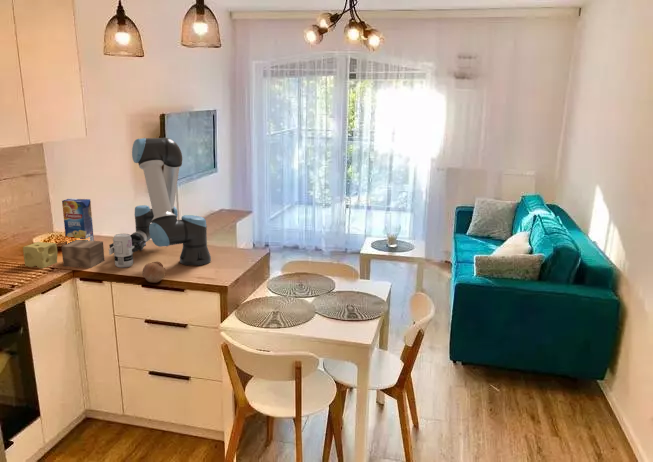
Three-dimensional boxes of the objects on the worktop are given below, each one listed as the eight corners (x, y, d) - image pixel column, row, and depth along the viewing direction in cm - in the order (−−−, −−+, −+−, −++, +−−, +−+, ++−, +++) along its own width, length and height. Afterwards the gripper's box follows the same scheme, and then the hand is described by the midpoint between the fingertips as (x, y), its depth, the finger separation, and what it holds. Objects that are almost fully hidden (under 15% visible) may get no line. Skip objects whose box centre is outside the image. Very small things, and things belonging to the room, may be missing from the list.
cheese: (43, 268, 242) (41, 248, 240) (23, 266, 244) (21, 246, 242) (58, 262, 252) (56, 242, 250) (39, 260, 254) (37, 240, 252)
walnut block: (104, 260, 257) (103, 241, 254) (91, 268, 245) (89, 248, 243) (78, 259, 258) (76, 239, 256) (63, 266, 247) (61, 246, 244)
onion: (162, 285, 233) (170, 265, 234) (156, 287, 224) (166, 265, 224) (142, 277, 233) (151, 257, 233) (136, 279, 223) (145, 257, 224)
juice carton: (94, 241, 289) (90, 199, 283) (86, 245, 282) (82, 201, 276) (74, 240, 291) (70, 198, 285) (66, 243, 284) (61, 200, 278)
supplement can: (114, 263, 252) (112, 233, 249) (132, 262, 255) (130, 232, 252) (115, 268, 245) (113, 238, 241) (133, 267, 248) (131, 236, 244)
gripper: (157, 247, 266) (141, 260, 244) (116, 246, 267) (97, 259, 244) (156, 233, 265) (140, 245, 243) (115, 232, 265) (96, 243, 243)
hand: (119, 252), depth 244 cm, fingers closed on supplement can, 8 cm apart
